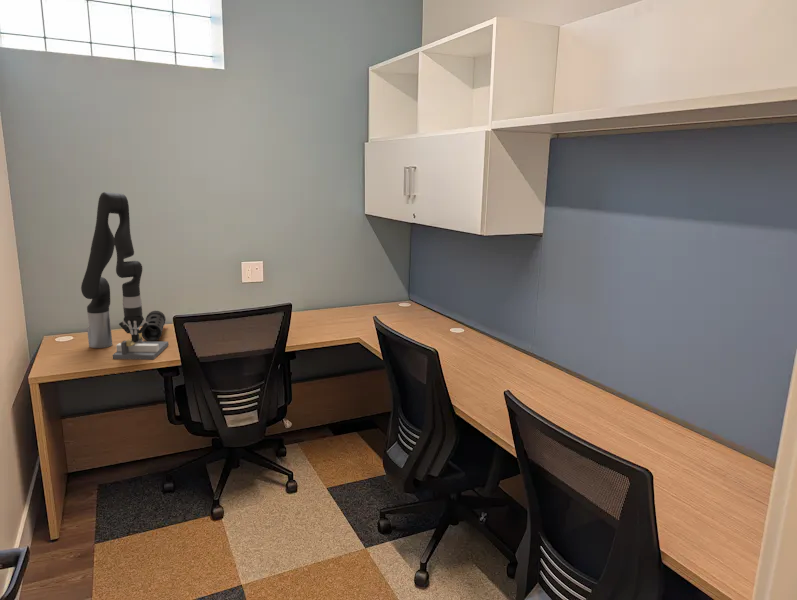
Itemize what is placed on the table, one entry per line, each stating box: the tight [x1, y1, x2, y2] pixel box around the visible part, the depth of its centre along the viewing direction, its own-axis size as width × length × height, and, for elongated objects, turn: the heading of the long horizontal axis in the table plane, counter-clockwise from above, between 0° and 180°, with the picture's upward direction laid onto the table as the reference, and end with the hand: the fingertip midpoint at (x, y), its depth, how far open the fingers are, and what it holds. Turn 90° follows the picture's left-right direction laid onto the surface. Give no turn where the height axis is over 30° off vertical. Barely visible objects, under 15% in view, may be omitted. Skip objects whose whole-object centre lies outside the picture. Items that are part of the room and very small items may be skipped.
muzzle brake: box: [142, 310, 166, 341], centre depth 288 cm, size 10×28×10 cm, turn 18°
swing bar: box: [125, 333, 143, 346], centre depth 261 cm, size 13×3×3 cm, turn 3°
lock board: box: [112, 338, 170, 360], centre depth 264 cm, size 18×20×8 cm
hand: (135, 341), depth 257 cm, fingers closed
